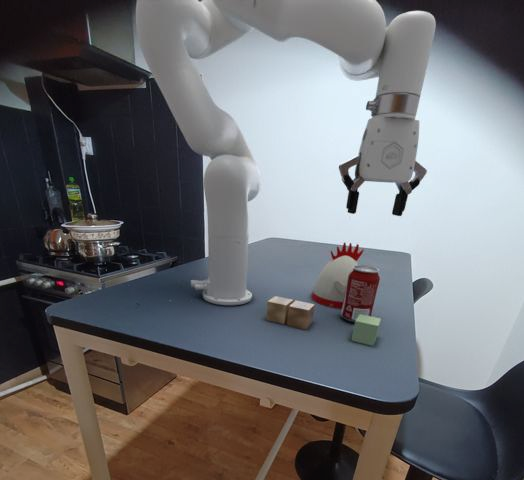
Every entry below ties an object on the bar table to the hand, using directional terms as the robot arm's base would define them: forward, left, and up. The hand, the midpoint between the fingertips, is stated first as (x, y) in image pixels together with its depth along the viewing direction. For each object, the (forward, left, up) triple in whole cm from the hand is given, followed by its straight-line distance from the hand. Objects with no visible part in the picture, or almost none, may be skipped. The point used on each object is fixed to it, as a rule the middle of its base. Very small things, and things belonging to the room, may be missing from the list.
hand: (374, 214), depth 65 cm
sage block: (-2, -12, -23) cm, 26 cm away
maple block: (-18, -2, -23) cm, 29 cm away
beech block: (-14, -5, -23) cm, 27 cm away
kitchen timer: (0, +13, -23) cm, 26 cm away
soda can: (0, -1, -23) cm, 23 cm away
